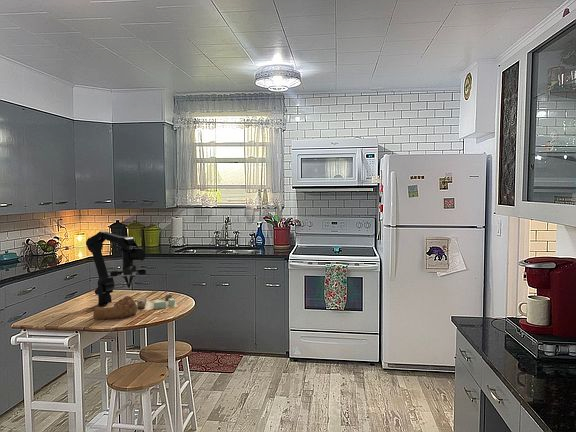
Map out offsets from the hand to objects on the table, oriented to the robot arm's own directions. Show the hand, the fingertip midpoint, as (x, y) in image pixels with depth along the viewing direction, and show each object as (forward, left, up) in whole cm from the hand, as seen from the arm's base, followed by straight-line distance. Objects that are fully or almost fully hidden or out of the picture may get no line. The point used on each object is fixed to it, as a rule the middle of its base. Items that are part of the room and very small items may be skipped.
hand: (128, 287), depth 263 cm
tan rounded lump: (-8, -22, -11) cm, 26 cm away
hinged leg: (+6, -5, -9) cm, 13 cm away
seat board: (+12, -5, -11) cm, 17 cm away
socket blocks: (+17, -12, -10) cm, 23 cm away
